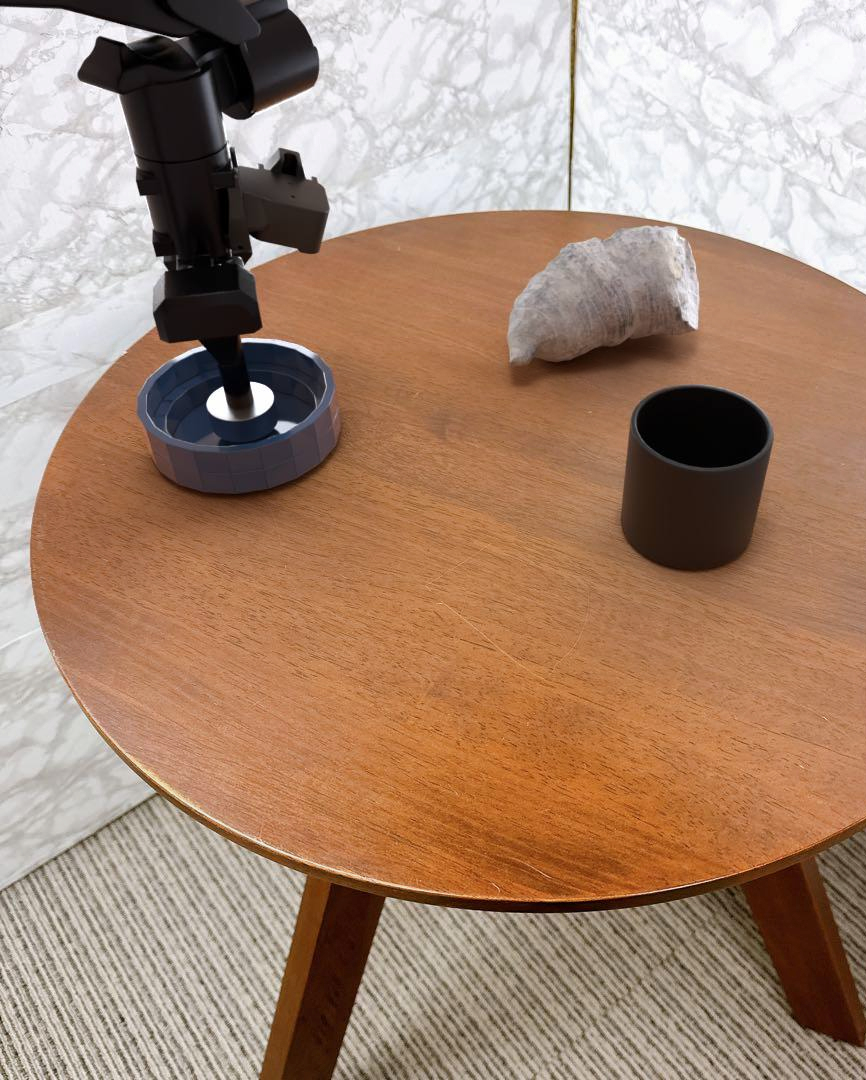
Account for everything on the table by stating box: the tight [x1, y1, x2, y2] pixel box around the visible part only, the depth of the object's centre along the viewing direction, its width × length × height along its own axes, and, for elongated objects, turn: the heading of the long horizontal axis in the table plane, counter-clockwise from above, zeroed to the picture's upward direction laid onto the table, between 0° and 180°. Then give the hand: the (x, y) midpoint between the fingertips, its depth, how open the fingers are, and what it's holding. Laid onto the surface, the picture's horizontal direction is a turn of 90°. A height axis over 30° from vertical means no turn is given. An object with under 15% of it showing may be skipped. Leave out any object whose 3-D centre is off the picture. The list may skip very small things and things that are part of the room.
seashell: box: [506, 224, 701, 367], centre depth 86 cm, size 16×15×10 cm
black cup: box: [620, 383, 775, 571], centre depth 71 cm, size 9×12×9 cm
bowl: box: [136, 337, 342, 495], centre depth 78 cm, size 14×14×4 cm
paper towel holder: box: [206, 335, 278, 442], centre depth 75 cm, size 5×5×11 cm
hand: (228, 356), depth 74 cm, fingers closed on paper towel holder
